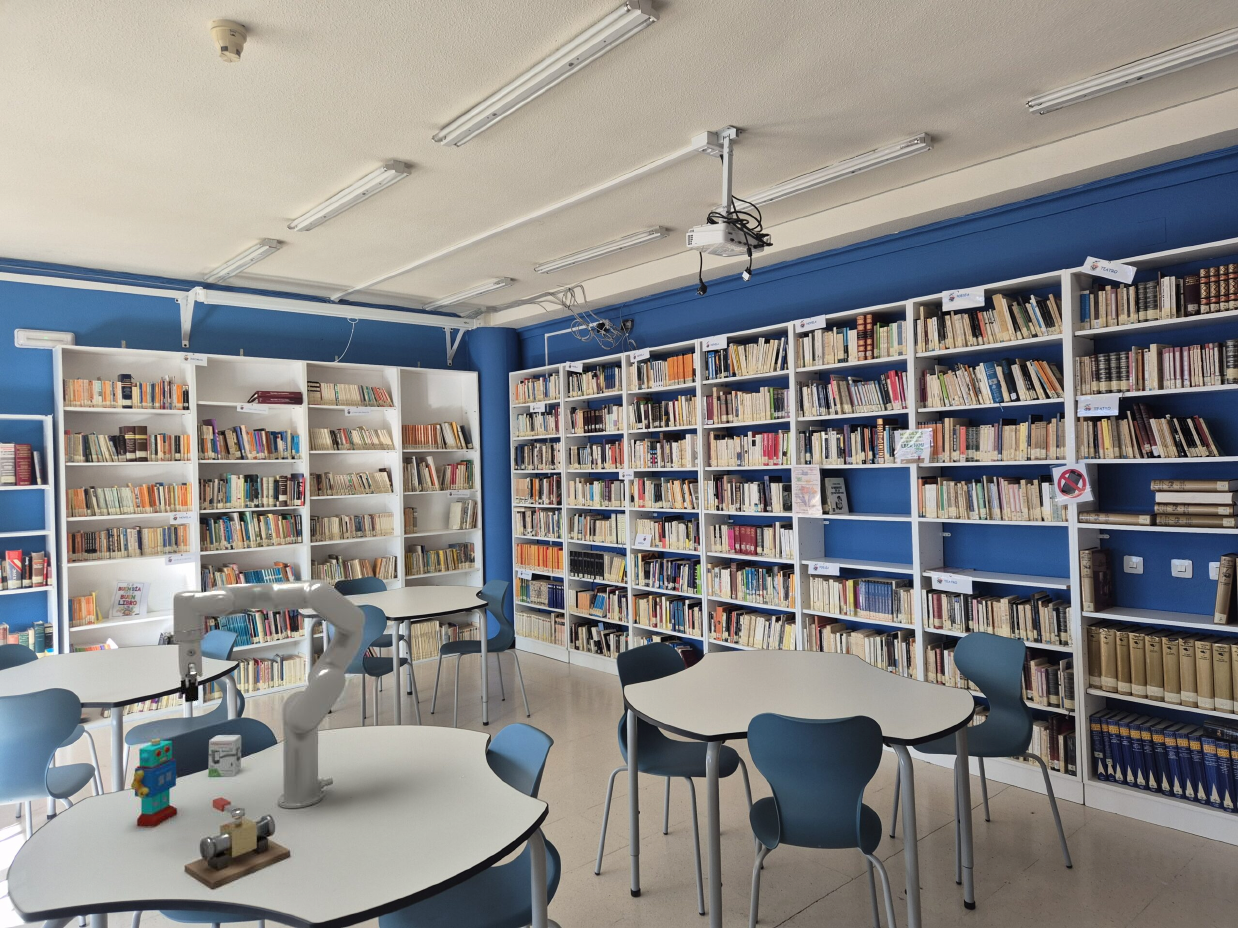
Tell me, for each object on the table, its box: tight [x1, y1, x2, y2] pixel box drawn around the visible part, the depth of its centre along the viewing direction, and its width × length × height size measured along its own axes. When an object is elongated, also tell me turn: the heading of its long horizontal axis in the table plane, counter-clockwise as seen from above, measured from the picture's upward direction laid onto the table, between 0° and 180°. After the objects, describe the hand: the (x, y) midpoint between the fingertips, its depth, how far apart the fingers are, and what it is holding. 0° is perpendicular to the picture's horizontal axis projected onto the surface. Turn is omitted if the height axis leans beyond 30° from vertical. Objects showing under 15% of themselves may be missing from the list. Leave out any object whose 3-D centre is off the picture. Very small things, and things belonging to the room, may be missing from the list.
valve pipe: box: [199, 814, 276, 871], centre depth 186 cm, size 16×6×10 cm, turn 143°
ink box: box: [207, 734, 242, 778], centre depth 245 cm, size 9×5×12 cm, turn 93°
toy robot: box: [130, 729, 178, 828], centre depth 212 cm, size 12×6×25 cm, turn 168°
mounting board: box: [184, 838, 291, 890], centre depth 186 cm, size 19×14×2 cm
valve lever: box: [212, 796, 246, 819], centre depth 189 cm, size 12×3×2 cm, turn 53°
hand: (189, 697), depth 210 cm, fingers open, 9 cm apart
